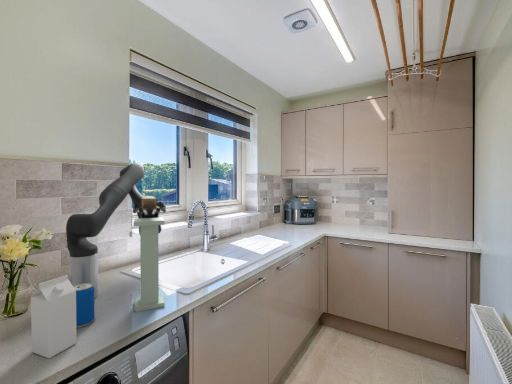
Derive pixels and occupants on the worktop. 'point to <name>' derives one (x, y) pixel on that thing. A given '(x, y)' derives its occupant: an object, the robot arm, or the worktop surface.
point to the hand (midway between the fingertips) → (149, 199)
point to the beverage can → (84, 304)
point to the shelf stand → (149, 264)
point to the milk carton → (53, 317)
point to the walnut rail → (148, 203)
